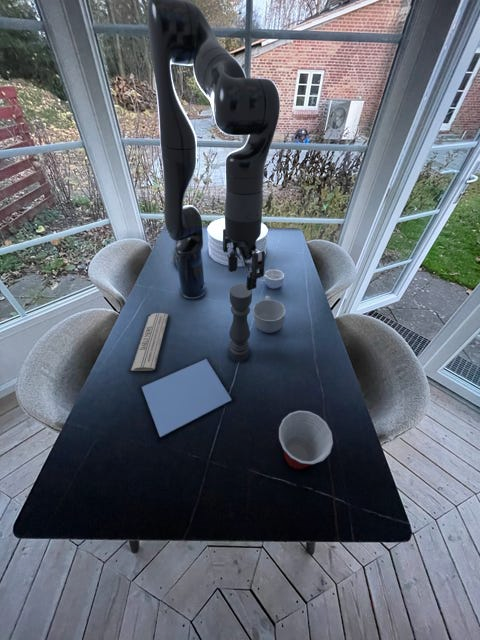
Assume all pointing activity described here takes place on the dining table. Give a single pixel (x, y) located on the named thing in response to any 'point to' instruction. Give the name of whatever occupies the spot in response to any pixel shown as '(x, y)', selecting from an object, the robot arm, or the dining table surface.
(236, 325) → the candle holder
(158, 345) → the newspaper
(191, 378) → the cloth
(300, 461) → the plastic cup
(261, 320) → the teacup
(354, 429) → the dining table surface
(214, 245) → the plate stack
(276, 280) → the teacup
